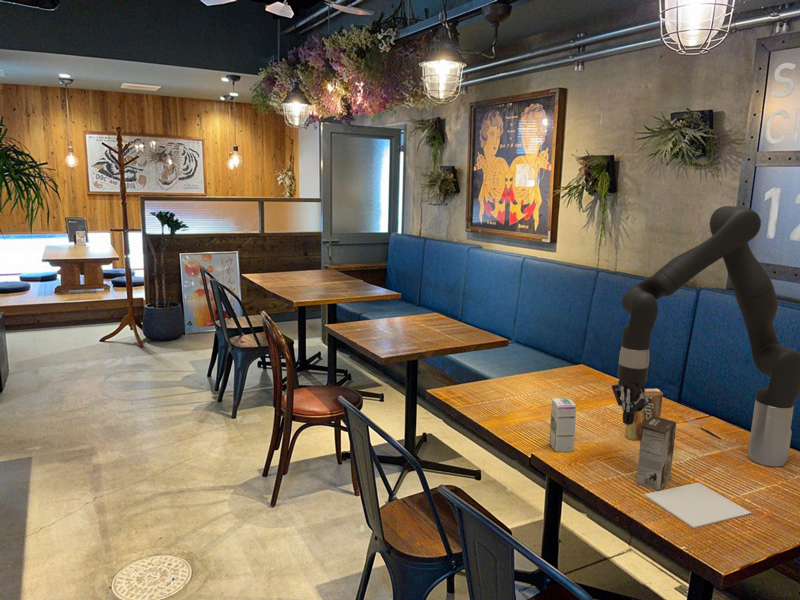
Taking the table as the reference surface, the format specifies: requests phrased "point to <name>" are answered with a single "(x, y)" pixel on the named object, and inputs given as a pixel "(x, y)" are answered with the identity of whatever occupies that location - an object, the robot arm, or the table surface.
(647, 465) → the coffee box
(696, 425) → the fork
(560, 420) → the syrup box
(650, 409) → the candy box
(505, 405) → the table surface
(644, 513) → the table surface
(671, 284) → the robot arm
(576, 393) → the table surface
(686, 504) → the mat
